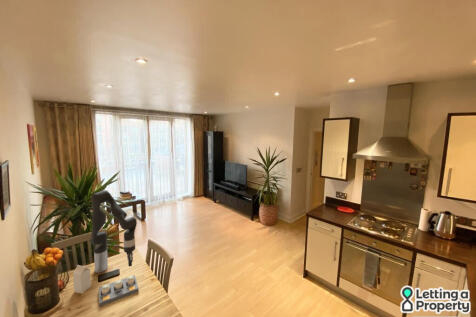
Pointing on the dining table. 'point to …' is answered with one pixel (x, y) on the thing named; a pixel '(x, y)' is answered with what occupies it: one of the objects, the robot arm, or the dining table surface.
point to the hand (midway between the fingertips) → (130, 265)
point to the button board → (117, 292)
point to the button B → (118, 284)
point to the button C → (130, 280)
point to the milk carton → (81, 279)
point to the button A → (105, 289)
